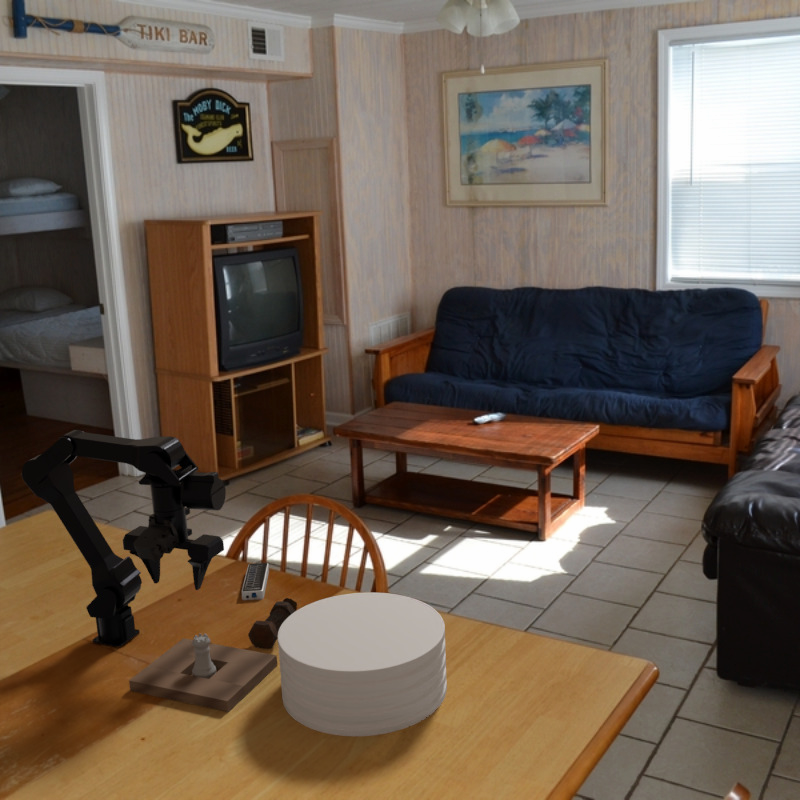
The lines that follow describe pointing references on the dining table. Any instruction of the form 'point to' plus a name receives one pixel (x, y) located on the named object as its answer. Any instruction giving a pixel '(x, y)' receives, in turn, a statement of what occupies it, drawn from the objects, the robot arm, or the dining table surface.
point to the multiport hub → (255, 581)
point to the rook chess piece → (202, 657)
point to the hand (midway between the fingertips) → (177, 585)
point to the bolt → (271, 624)
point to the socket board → (218, 692)
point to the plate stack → (362, 663)
